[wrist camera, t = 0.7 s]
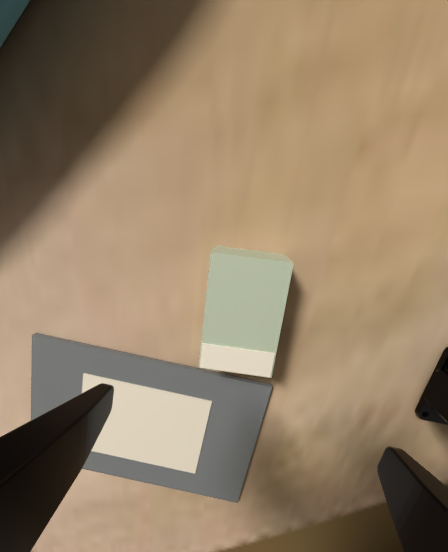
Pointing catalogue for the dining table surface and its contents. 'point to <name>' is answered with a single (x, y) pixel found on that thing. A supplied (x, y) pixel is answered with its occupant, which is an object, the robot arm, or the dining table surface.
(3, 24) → the casserole dish
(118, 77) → the dining table surface
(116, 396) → the placemat
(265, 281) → the sage block
